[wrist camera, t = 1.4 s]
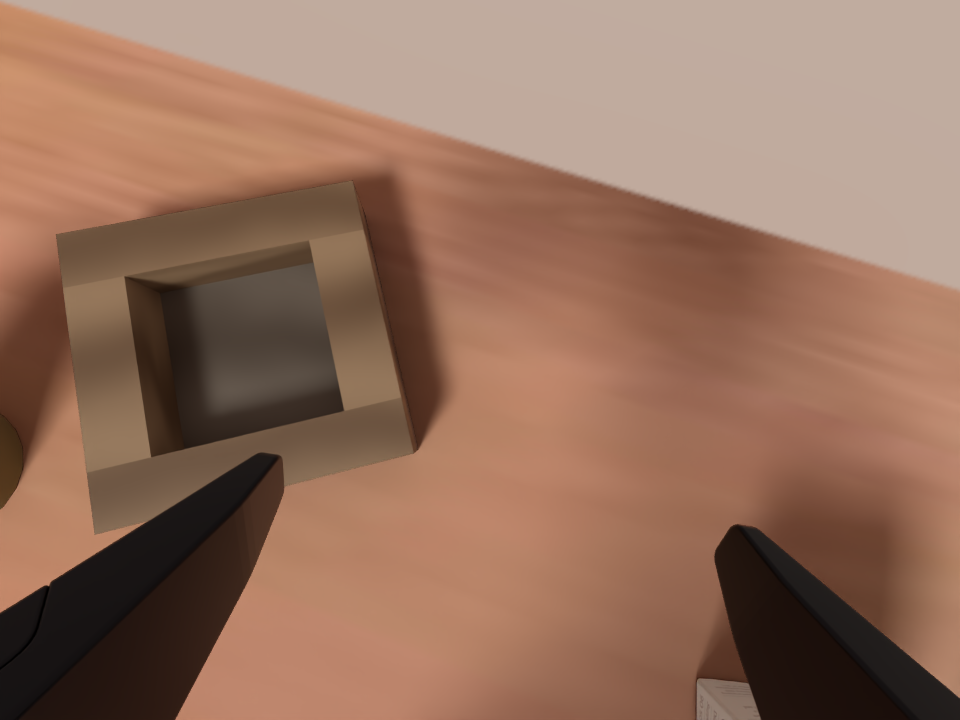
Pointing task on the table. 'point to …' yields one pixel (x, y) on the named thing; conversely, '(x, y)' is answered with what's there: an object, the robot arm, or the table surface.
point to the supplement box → (725, 700)
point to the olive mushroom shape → (9, 460)
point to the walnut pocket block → (229, 348)
